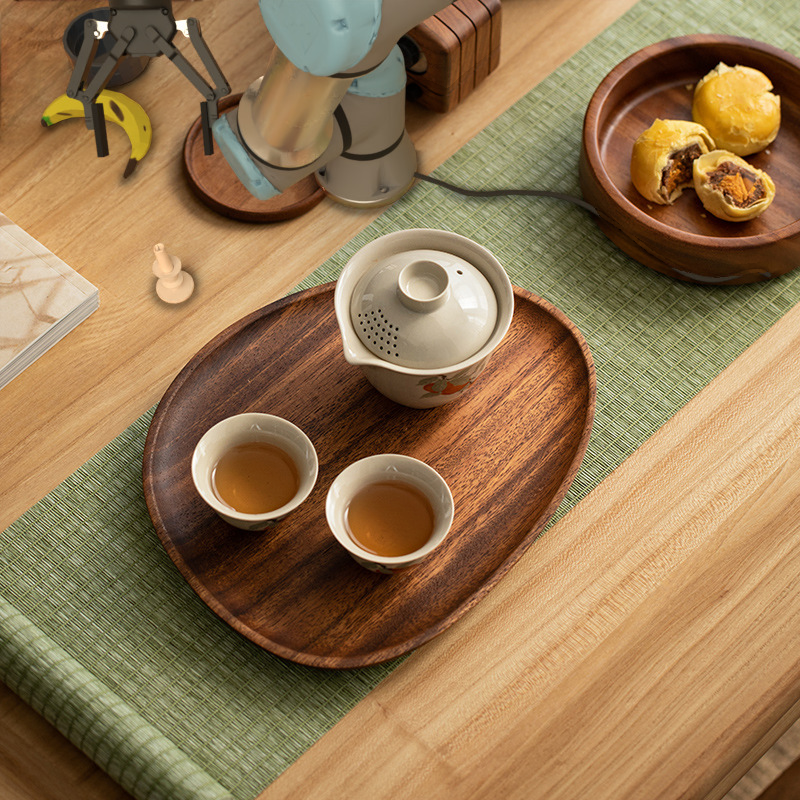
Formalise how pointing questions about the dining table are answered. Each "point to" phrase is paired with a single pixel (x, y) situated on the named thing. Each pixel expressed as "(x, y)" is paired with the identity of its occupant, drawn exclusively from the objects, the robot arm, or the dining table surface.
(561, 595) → the dining table surface
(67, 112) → the banana
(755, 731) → the dining table surface
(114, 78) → the bowl
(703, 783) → the dining table surface
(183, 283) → the candle
